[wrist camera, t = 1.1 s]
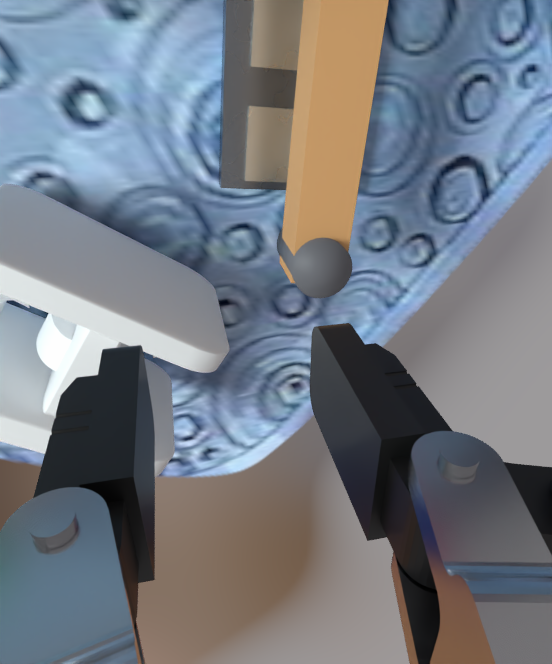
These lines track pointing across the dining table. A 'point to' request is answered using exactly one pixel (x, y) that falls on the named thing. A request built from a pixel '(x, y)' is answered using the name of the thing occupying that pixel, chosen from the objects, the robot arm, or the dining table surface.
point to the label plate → (258, 91)
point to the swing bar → (329, 139)
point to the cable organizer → (91, 314)
